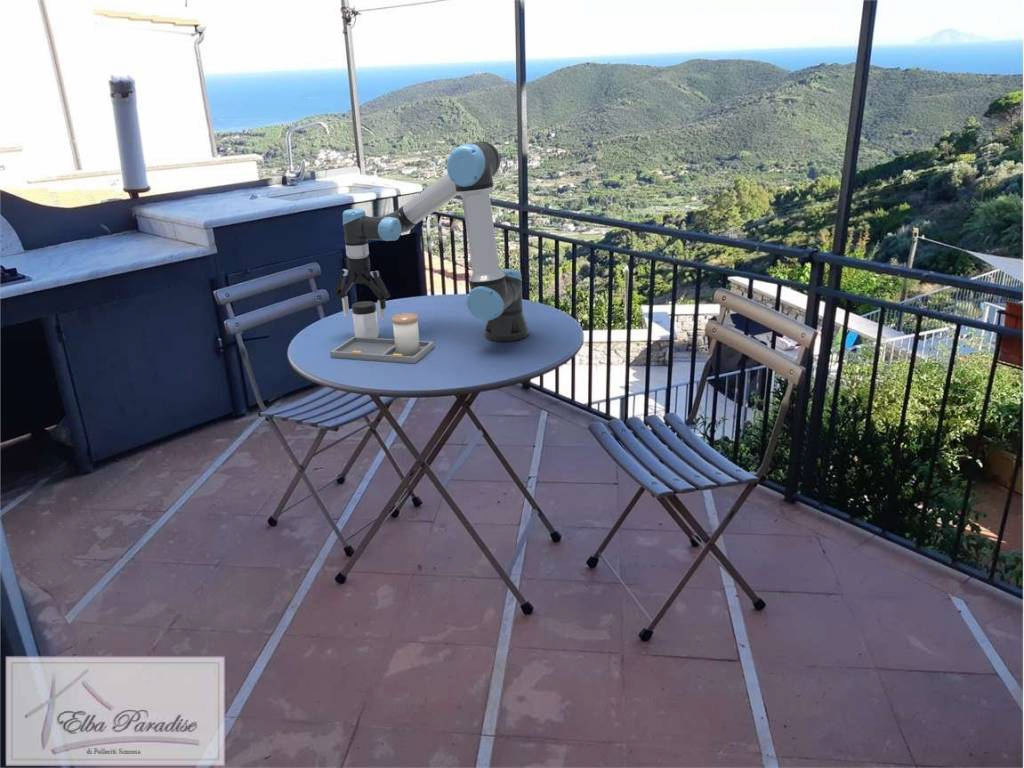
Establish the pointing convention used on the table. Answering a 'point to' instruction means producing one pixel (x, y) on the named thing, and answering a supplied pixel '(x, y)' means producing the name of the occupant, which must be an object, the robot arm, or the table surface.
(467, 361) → the table surface
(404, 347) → the white jar with lid
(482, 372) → the table surface
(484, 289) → the robot arm
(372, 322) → the jar
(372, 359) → the divided grey tray
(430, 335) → the table surface
